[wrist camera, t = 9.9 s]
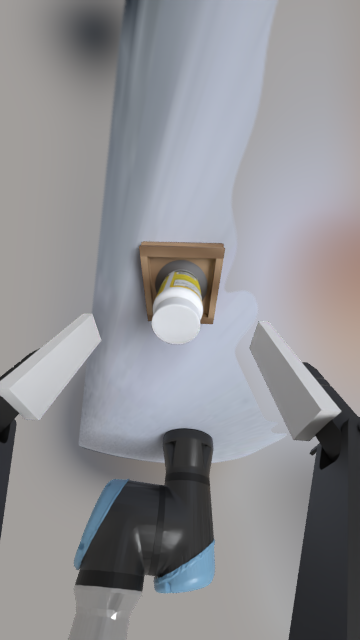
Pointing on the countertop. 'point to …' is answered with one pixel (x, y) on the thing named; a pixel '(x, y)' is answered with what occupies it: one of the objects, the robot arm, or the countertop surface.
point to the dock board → (182, 256)
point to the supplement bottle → (178, 308)
